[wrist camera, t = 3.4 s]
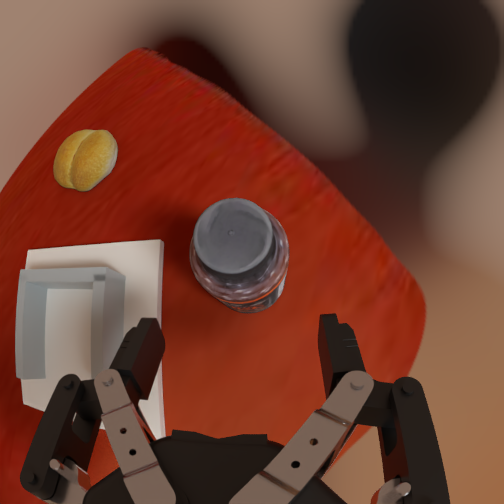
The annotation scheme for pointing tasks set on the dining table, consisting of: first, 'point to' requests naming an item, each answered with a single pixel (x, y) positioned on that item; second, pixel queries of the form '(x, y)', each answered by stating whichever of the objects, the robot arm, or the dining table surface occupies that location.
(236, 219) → the supplement bottle
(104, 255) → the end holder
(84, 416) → the robot arm
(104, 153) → the bread roll
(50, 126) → the dining table surface
